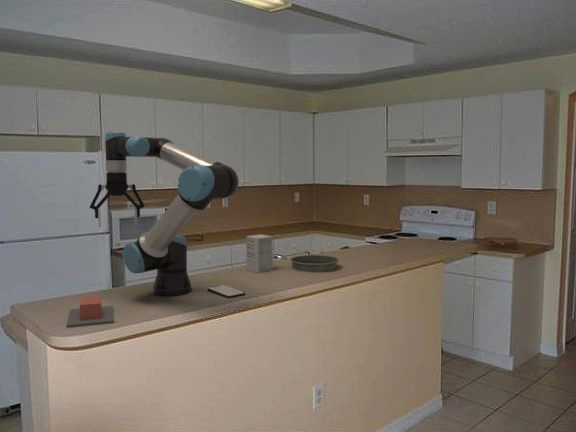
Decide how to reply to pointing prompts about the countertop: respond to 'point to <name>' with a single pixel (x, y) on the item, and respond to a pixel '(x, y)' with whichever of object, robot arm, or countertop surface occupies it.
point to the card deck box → (90, 308)
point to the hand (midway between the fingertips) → (118, 226)
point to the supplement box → (259, 253)
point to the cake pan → (314, 263)
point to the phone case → (225, 291)
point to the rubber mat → (75, 319)
